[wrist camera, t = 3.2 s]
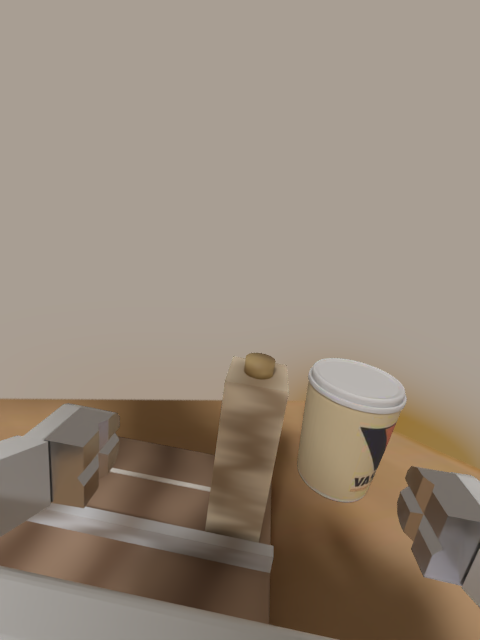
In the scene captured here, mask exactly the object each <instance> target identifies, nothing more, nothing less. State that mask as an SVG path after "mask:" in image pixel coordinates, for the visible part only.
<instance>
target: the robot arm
mask: <svg viewBox="0 0 480 640" xmlns="http://www.w3.org/2000/svg"><path fill="white" fill-rule="evenodd" d="M119 427H120V416H119V415H118V413H115V412H110V411H105V410H100V409H95V408H91V407H86V406H85V407H84V406H80V405H75V404H69V403H68V404H63V405H62V406H61V407H59V408H58V409H57V410H56V411H54V412H53V413H52V414H51V415H49V416H48V417H47V418H46V419H44V420H43V421H42V422H41V423H39V424H38V425H37V426H35V427H34V428H33V429H32V430H30V431H29V432H28V433H27V434H25V435H24V436H23V437H22V436H14V437H11V438H8V439H5V440H2V441H0V537H1V536H3V535H4V534H6V533H7V532H9V531H11V530H12V529H14V528H15V527H17V526H18V525H20V524H22V523H23V522H25V521H26V520H28V519H29V518H31V517H33V516H34V515H36V514H37V513H39V512H40V511H42V510H44V509H45V508H47V507H48V506H50V505H51V503H55V504H61V505H67V506H73V507H79V508H85V506H86V505H87V503H88V502H89V500H90V499H91V498H92V496H93V495H94V493H95V492H96V491H97V489H98V488H99V479H100V478H102V477H104V476H106V475H108V473H109V472H110V470H111V469H112V467H113V465H114V463H115V460H116V458H117V455H118V450H119V438H118V437H117V435H116V434H115V432H116V430H117V429H118V428H119ZM405 479H406V482H407V484H408V487H406V488H405V489H404V490H402V491H401V492H400V495H399V498H398V502H397V514H398V518H399V522H400V525H401V527H402V529H403V532H404V533H405V534H406V535H407V536H408V537H409V538H410V539H412V540H413V541H414V542H413V545H412V548H411V550H412V552H413V554H414V557H415V559H416V561H417V563H418V565H419V568H420V570H421V572H422V574H423V577H426V578H430V579H435V580H439V581H443V582H447V583H452V584H456V585H460V586H462V589H463V590H464V591H465V592H466V593H467V594H468V595H469V596H470V598H471V599H472V600H473V601H474V602H475V603H476V604H477V605H478V606H479V607H480V482H479V481H478V479H476V478H475V477H473V476H471V475H466V474H459V473H452V472H451V473H449V472H443V471H437V470H431V469H425V468H419V467H414V466H411V467H410V469H409V470H408V471H407V474H406V477H405ZM0 640H338V639H334V638H329V637H324V636H320V635H315V634H311V633H306V632H301V631H297V630H292V629H288V628H283V627H279V626H274V625H270V624H265V623H260V622H256V621H251V620H247V619H242V618H238V617H233V616H228V615H224V614H219V613H215V612H210V611H206V610H201V609H196V608H192V607H187V606H183V605H178V604H174V603H169V602H164V601H160V600H155V599H151V598H146V597H142V596H137V595H132V594H128V593H123V592H119V591H114V590H110V589H105V588H100V587H96V586H91V585H87V584H82V583H78V582H73V581H68V580H64V579H59V578H55V577H50V576H45V575H41V574H36V573H32V572H27V571H23V570H18V569H13V568H9V567H4V566H0Z"/></svg>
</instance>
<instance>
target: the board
mask: <svg viewBox="0 0 480 640" xmlns="http://www.w3.org/2000/svg"><path fill="white" fill-rule="evenodd" d="M117 437H118V436H117ZM118 438H119V450H118V455H117V458H116V460H115V463H114V465H113V467H112V469H111V470H110V472H109V473H108V475H106V476H104V477H102V478H100V479H99V488H98V489H97V491H96V492H95V493H94V495H93V496H92V498H91V499H90V500H89V502H88V503H87V505H86V506H85V508H79V507H73V506H67V505H61V504H55V503H51V505H50V506H48V507H47V508H45V509H44V510H42V511H40V512H39V513H37V514H36V515H34V516H33V517H31V518H29V519H28V520H26V521H25V522H23V523H22V524H20V525H18V526H17V527H15V528H14V529H12V530H11V531H9V532H7V533H6V534H4V535H3V536H1V537H0V566H4V567H9V568H13V569H18V570H23V571H27V572H32V573H36V574H41V575H45V576H50V577H55V578H59V579H64V580H68V581H73V582H78V583H82V584H87V585H91V586H96V587H100V588H105V589H110V590H114V591H119V592H123V593H128V594H132V595H137V596H142V597H146V598H151V599H155V600H160V601H164V602H169V603H174V604H178V605H183V606H187V607H192V608H196V609H201V610H206V611H210V612H215V613H219V614H224V615H228V616H233V617H238V618H242V619H247V620H251V621H256V622H260V623H265V624H269V606H270V571H271V566H272V562H273V557H274V546H272V545H270V538H271V484H270V489H269V494H268V498H267V503H266V508H265V513H264V518H263V523H262V528H261V533H260V538H259V543H257V542H253V541H248V540H243V539H238V538H233V537H229V536H224V535H219V534H214V533H210V532H205V527H206V520H207V512H208V505H209V497H210V490H211V482H212V475H213V467H214V460H215V455H212V454H207V453H202V452H196V451H191V450H186V449H181V448H176V447H170V446H165V445H160V444H155V443H149V442H144V441H139V440H134V439H129V438H123V437H118Z"/></svg>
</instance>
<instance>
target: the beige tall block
mask: <svg viewBox="0 0 480 640" xmlns="http://www.w3.org/2000/svg"><path fill="white" fill-rule="evenodd" d="M288 394H289V387H288V376H287V365H281V364H276V363H275V359H274V358H272V357H271V356H269V355H266V354H262V353H251V354H248V355H247V356H246V358H240V357H234V356H233V359H232V362H231V365H230V368H229V371H228V374H227V377H226V380H225V385H224V392H223V400H222V407H221V415H220V422H219V430H218V437H217V445H216V452H215V460H214V467H213V475H212V482H211V490H210V497H209V505H208V512H207V520H206V527H205V532H210V533H214V534H219V535H224V536H229V537H233V538H238V539H243V540H248V541H253V542H257V543H259V538H260V533H261V528H262V523H263V518H264V513H265V508H266V503H267V498H268V494H269V489H270V484H271V479H272V474H273V469H274V464H275V459H276V454H277V449H278V444H279V439H280V434H281V429H282V424H283V419H284V414H285V409H286V404H287V399H288Z"/></svg>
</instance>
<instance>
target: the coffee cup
mask: <svg viewBox="0 0 480 640" xmlns="http://www.w3.org/2000/svg"><path fill="white" fill-rule="evenodd" d="M308 379H309V383H308V389H307V396H306V402H305V409H304V416H303V423H302V430H301V437H300V444H299V452H298V460H297V467H298V471H299V474H300V476H301V477H302V479H303V480H304V482H305V483H306V484H307V485H308V486H309V487H310V488H311V489H312V490H314V491H315V492H317V493H318V494H320V495H322V496H324V497H326V498H328V499H331V500H334V501H338V502H354V501H357V500H359V499H361V498H362V497H363V496H364V495H365V494H366V492H367V491H368V489H369V486H370V484H371V482H372V480H373V477H374V475H375V473H376V470H377V468H378V465H379V463H380V461H381V458H382V456H383V454H384V451H385V449H386V446H387V444H388V442H389V439H390V437H391V434H392V432H393V429H394V427H395V425H396V422H397V419H398V417H399V414H400V411H401V410H402V409H403V408H404V406H405V404H406V400H407V399H406V395H405V389H404V387H403V385H402V384H401V383H400V382H399V381H398V380H397V379H396V378H394V377H393V376H391V375H390V374H388V373H386V372H385V371H383V370H380V369H378V368H376V367H373V366H370V365H368V364H365V363H361V362H358V361H353V360H348V359H341V358H340V359H339V358H327V359H322V360H319V361H317V362H316V363H315V364H314V366H313V367H312V368H311V369H310V371H309V376H308Z"/></svg>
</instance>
